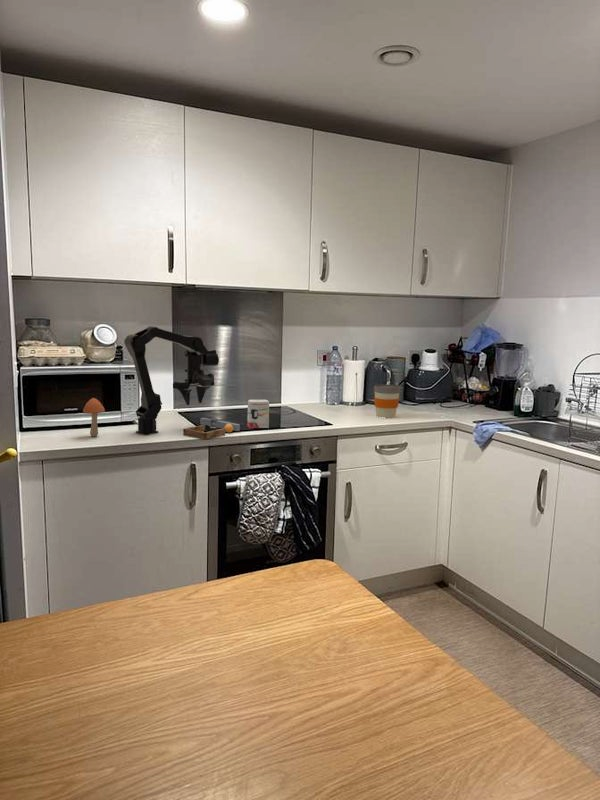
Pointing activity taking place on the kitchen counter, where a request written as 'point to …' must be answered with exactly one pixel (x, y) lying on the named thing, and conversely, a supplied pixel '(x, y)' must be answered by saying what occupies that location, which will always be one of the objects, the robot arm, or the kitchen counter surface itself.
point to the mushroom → (93, 414)
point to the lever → (218, 423)
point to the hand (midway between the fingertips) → (194, 404)
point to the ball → (228, 428)
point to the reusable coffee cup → (386, 400)
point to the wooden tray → (199, 433)
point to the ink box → (258, 414)
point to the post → (213, 425)
